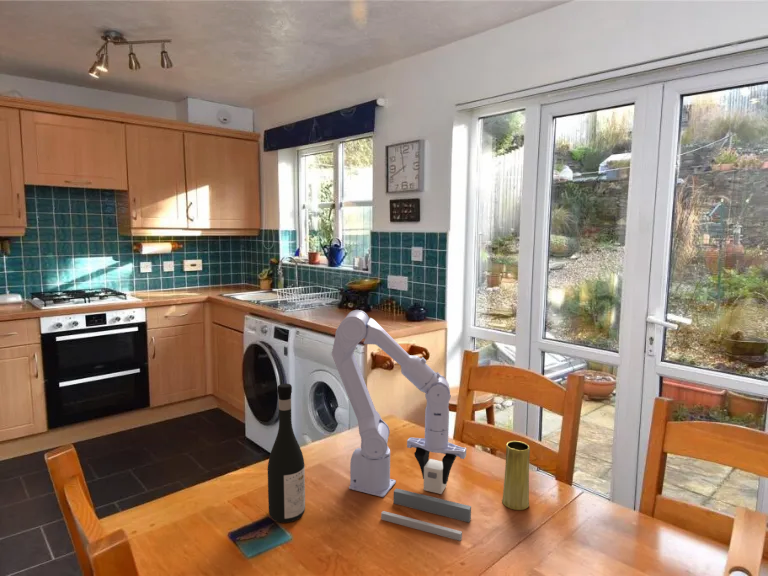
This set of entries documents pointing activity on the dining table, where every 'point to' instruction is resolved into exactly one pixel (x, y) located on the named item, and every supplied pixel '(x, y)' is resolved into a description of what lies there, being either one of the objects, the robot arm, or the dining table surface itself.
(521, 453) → the vase
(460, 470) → the dining table surface
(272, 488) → the wine bottle
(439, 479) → the cabinet block
